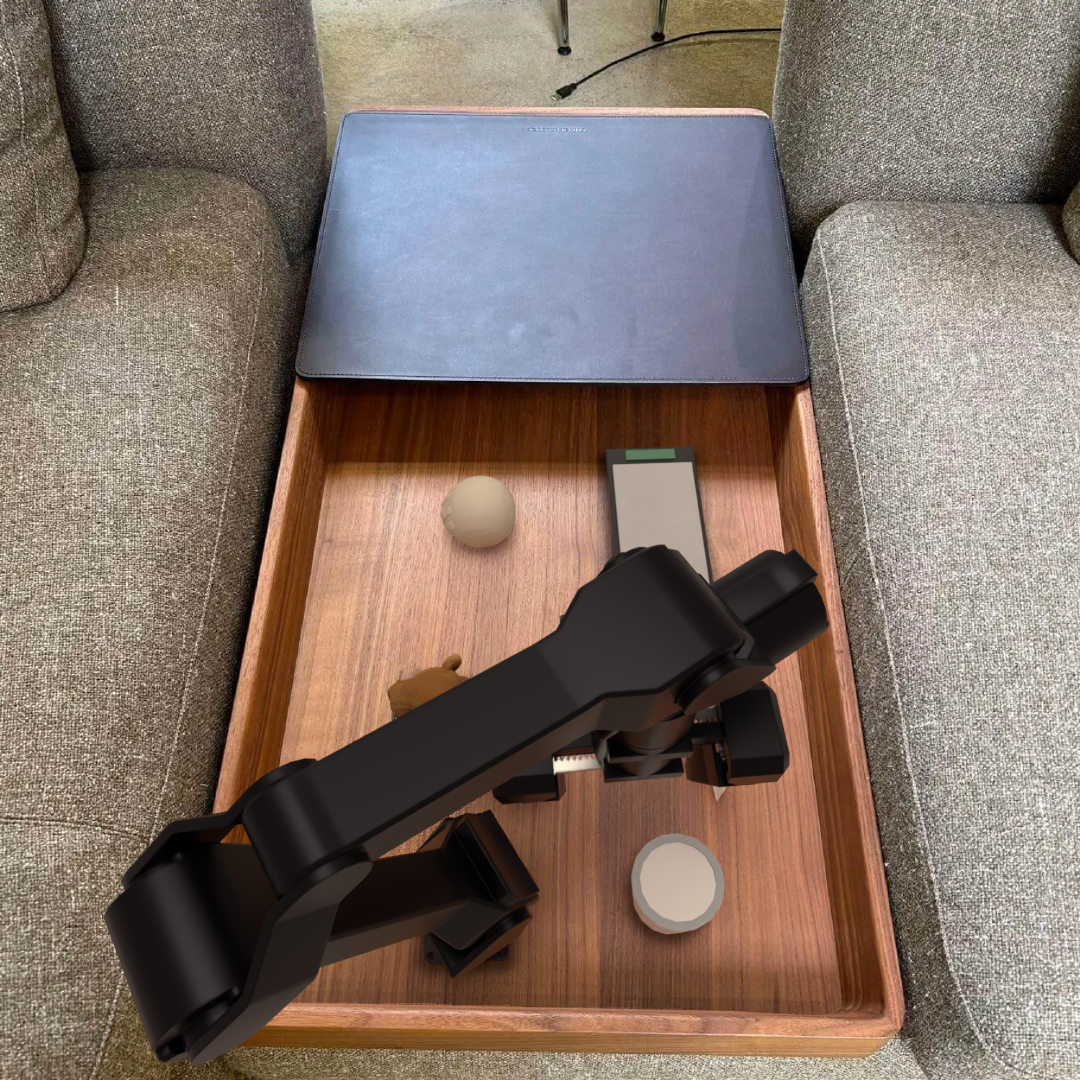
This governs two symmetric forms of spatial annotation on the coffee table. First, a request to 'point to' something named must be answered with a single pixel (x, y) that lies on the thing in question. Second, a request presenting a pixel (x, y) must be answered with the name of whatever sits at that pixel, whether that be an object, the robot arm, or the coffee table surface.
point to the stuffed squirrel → (424, 686)
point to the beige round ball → (479, 511)
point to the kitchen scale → (657, 503)
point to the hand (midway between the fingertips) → (625, 777)
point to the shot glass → (676, 884)
